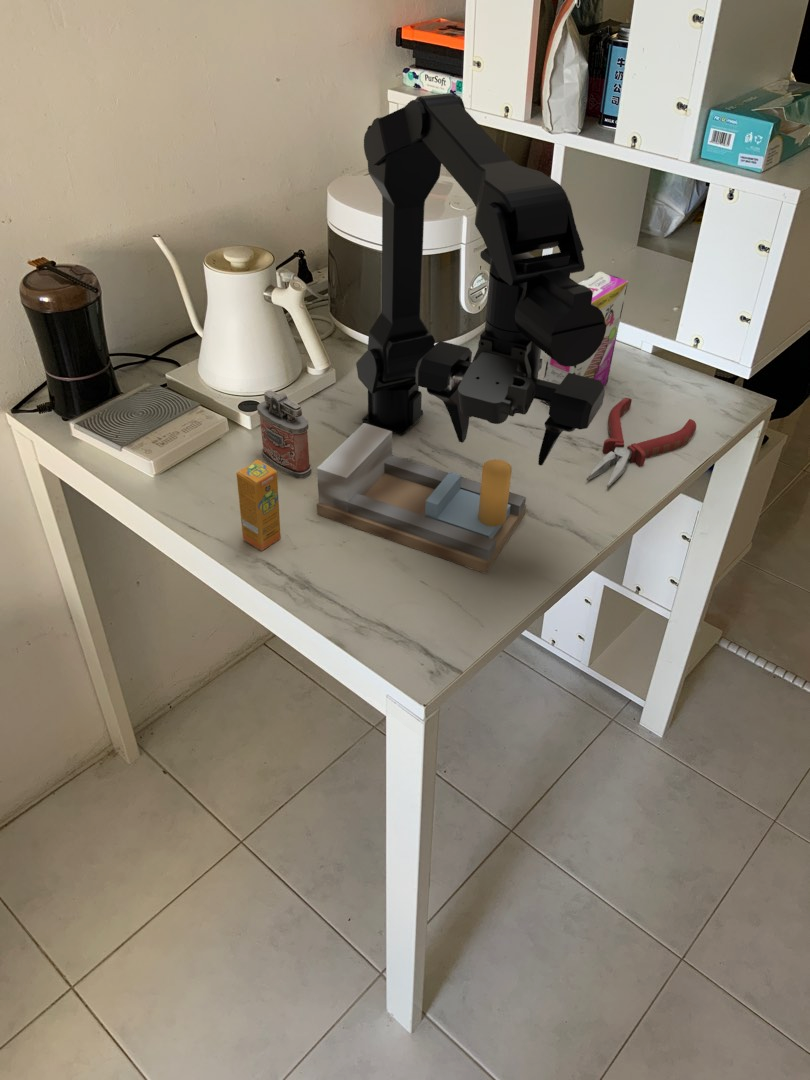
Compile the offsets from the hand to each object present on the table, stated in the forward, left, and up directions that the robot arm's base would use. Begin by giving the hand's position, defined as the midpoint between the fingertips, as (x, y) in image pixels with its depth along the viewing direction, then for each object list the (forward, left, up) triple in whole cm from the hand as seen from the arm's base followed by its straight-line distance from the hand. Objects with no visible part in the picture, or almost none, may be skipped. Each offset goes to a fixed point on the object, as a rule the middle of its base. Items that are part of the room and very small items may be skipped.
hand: (501, 451), depth 95 cm
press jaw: (-3, 0, -10) cm, 11 cm away
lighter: (-29, +1, -12) cm, 32 cm away
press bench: (-9, 0, -12) cm, 15 cm away
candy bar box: (-2, +36, -12) cm, 38 cm away
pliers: (+8, +26, -13) cm, 30 cm away
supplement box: (-23, -13, -12) cm, 29 cm away
